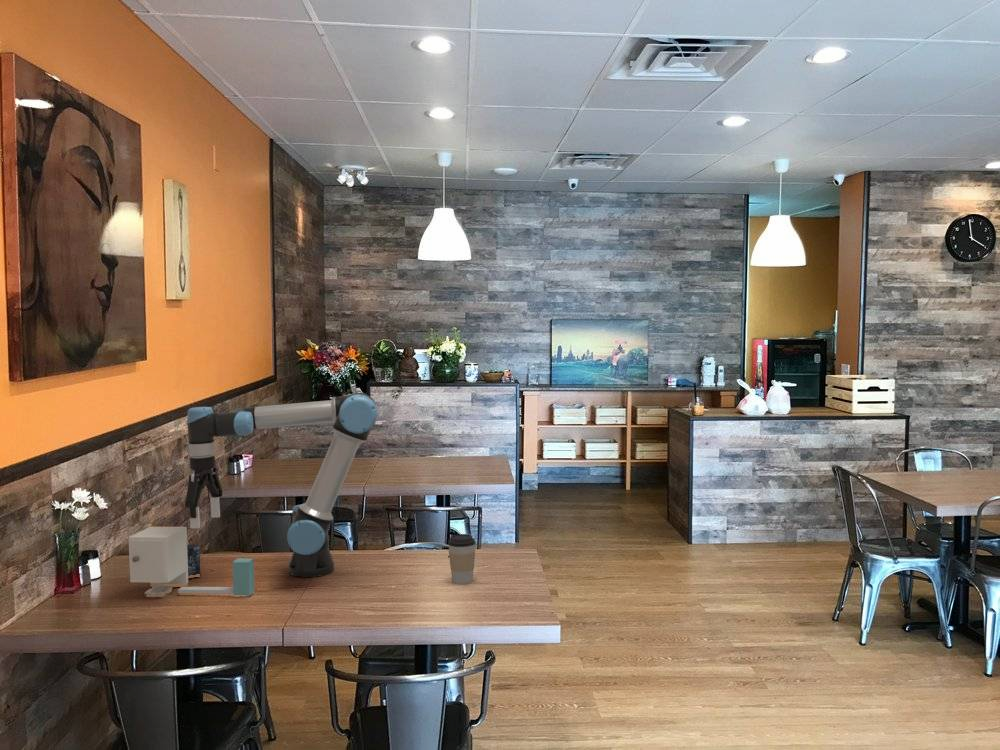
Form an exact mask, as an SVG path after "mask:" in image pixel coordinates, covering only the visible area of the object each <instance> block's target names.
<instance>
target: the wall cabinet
mask: <svg viewBox="0 0 1000 750" xmlns="http://www.w3.org/2000/svg"><path fill="white" fill-rule="evenodd" d="M187 532H188V530H187V526H149V527H147V528H145V529H142V530H140V531H139V532H137V533H135V534H132V535H130V536H128V555H129V559H128V561H129V579H130V580H129V582H130V583H149V585H150V584H161V585H163V584H187V583H189V580H188V554H187V545H188V535H187Z"/></svg>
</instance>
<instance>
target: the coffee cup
mask: <svg viewBox="0 0 1000 750" xmlns="http://www.w3.org/2000/svg"><path fill="white" fill-rule="evenodd" d="M476 543H477V542H476V539H475V538H473V536H472V535H470V534H467V533H466V534H465V533H458V534H452V535H451V537H450V538H449V539H448V542H447V545H448V556H449V566H450V574H451V582H452V583H453V584H455V585H469V584H471V583H473V580H474V569H475V561H476V560H475V559H476Z"/></svg>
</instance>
